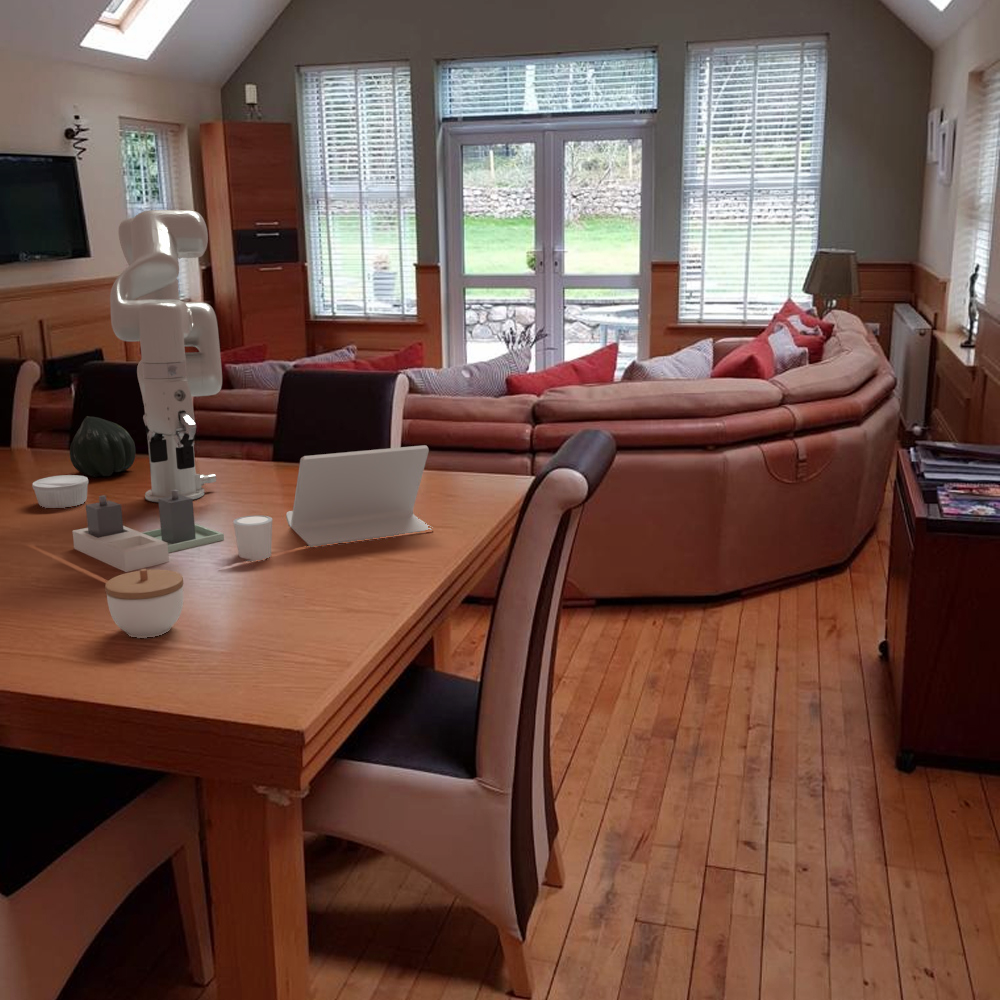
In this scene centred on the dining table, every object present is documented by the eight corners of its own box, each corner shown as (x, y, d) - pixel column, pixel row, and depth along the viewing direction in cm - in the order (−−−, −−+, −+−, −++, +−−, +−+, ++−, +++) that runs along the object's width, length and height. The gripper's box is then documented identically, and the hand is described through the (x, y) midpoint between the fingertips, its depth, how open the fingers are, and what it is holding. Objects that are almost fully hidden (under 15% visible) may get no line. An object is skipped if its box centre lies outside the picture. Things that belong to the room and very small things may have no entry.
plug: (183, 535, 199) (179, 486, 197) (195, 539, 196) (191, 490, 194) (161, 540, 196) (157, 490, 194) (173, 544, 193) (169, 494, 191)
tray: (191, 530, 205) (190, 522, 204) (224, 542, 196) (223, 533, 196) (133, 543, 196) (132, 534, 196) (165, 556, 188) (164, 547, 188)
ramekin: (37, 513, 219) (34, 488, 218) (32, 501, 229) (30, 478, 227) (93, 506, 224) (91, 483, 223) (87, 495, 234) (84, 472, 232)
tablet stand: (435, 533, 203) (433, 447, 199) (309, 549, 193) (304, 459, 189) (403, 511, 219) (401, 431, 215) (285, 525, 209) (280, 442, 205)
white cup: (281, 553, 190) (279, 516, 188) (261, 564, 183) (259, 526, 182) (249, 550, 192) (246, 513, 190) (227, 560, 186) (225, 522, 184)
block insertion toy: (116, 542, 197) (110, 488, 194) (169, 564, 183) (164, 506, 181) (74, 551, 191) (68, 495, 189) (126, 575, 178) (120, 515, 175)
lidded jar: (121, 619, 157) (115, 559, 155) (193, 616, 158) (189, 557, 156) (100, 646, 147) (94, 582, 145) (178, 643, 148) (173, 580, 146)
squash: (154, 450, 255) (122, 402, 257) (103, 464, 243) (69, 413, 245) (130, 483, 263) (99, 435, 265) (79, 497, 251) (47, 448, 253)
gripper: (208, 373, 185) (215, 468, 189) (160, 367, 197) (167, 456, 201) (169, 377, 180) (177, 474, 184) (122, 370, 192) (131, 462, 196)
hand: (172, 464), depth 192 cm, fingers open, 9 cm apart
